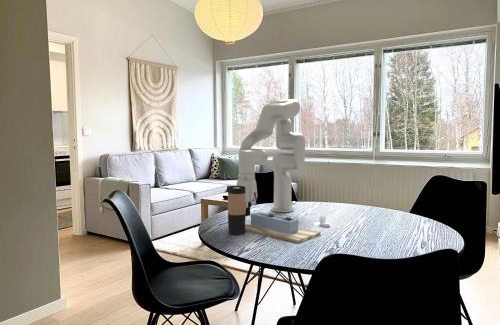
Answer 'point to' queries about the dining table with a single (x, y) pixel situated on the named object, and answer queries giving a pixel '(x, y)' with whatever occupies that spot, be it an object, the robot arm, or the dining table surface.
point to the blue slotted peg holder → (274, 222)
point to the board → (293, 237)
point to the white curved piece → (322, 222)
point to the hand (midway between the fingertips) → (246, 215)
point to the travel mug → (236, 210)
